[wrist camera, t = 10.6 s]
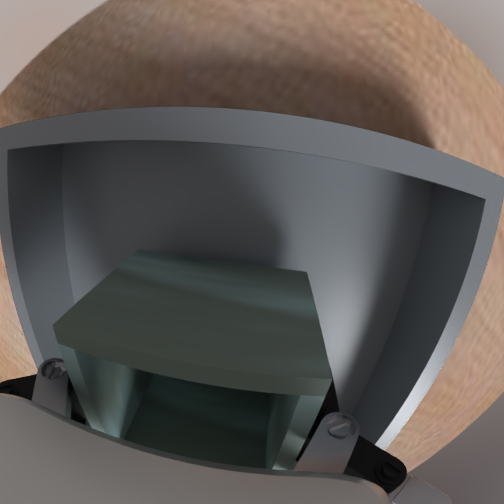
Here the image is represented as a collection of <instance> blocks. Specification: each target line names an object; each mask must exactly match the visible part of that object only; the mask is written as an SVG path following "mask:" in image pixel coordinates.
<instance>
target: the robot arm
mask: <svg viewBox="0 0 504 504" xmlns="http://www.w3.org/2000/svg"><path fill="white" fill-rule="evenodd" d="M330 370H331V368H330ZM331 374H332V371H331ZM359 433H360V426H359V423H358V422H357V420H356V419H355V418H354V417H353V416H351V415H349V414H347V413H343V412H340V410H339V405H338V400H337V395H336V390H335V385H334V380H333V376H332V382H331V384H330V387H329V389H328V391H327V394H326V396H325V399H324V401H323V403H322V405H321V408H320V410H319V412H318V414H317V417H316V419H315V421H314V423H313V425H312V428H311V430H310V432H309V434H308V436H307V438H306V440H305V442H304V444H303V446H302V448H301V450H300V452H299V454H298V456H297V458H296V460H295V461H297V462H298V463H297V465H296V466H295V468H294V470H276V469H264V468H254V467H244V466H236V465H229V464H222V463H216V462H210V461H204V460H199V459H194V458H189V457H185V456H180V455H176V454H172V453H168V452H164V451H160V450H156V449H152V448H149V447H145V446H142V445H139V444H136V443H132V442H129V441H126V440H123V439H120V438H117V437H115V436H112V435H109V434H106V433H104V432H101V431H98V430H96V429H93V428H91V427H90V423H89V421H88V419H87V417H86V415H85V413H84V411H83V409H82V406H81V404H80V402H79V400H78V397H77V395H76V392H75V390H74V388H73V385H72V383H71V380H70V377H69V375H68V372H67V369H66V367H65V364H64V361H63V359H60V358H51V359H48V360H46V361H44V362H43V363H42V364H41V365H40V366H39V368H38V372H37V374H35V375H31V376H26V377H21V378H16V379H11V380H6V381H3V382H1V383H0V504H451V501H450V498H449V497H448V496H446V494H444V493H442V492H441V491H439V490H437V489H436V488H434V487H432V486H431V485H429V484H427V483H426V482H424V481H423V480H421V479H420V478H418V477H416V476H415V475H413V476H412V477H411V476H410V475H408V474H407V470H406V467H405V465H404V464H403V462H401V461H400V460H399V459H397V458H396V457H394V456H392V455H391V454H389V453H387V452H386V451H384V450H382V449H381V448H379V447H378V446H376V445H374V444H373V443H371V442H370V441H368V440H366V439H365V438H363V437H362V436H360V435H359Z"/></svg>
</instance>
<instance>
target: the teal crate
mask: <svg viewBox="0 0 504 504" xmlns="http://www.w3.org/2000/svg"><path fill="white" fill-rule="evenodd" d="M52 326H53V329H54V333H55V336H56V339H57V343H58V346H59V349H60V352H61V355H62V358H63V361H64V364H65V367H66V369H67V372H68V375H69V377H70V380H71V383H72V385H73V388H74V390H75V392H76V395H77V397H78V400H79V402H80V404H81V406H82V409H83V411H84V413H85V415H86V417H87V419H88V421H89V423H90V425H91V427H92V428H93V429H96V430H98V431H101V432H104V433H106V434H109V435H112V436H115V437H117V438H120V439H123V440H126V441H129V442H132V443H136V444H139V445H142V446H145V447H149V448H152V449H156V450H160V451H164V452H168V453H172V454H176V455H180V456H185V457H189V458H194V459H199V460H204V461H210V462H216V463H222V464H229V465H236V466H244V467H254V468H264V469H276V470H290V469H291V467H292V465H293V463H294V462H295V460H296V458H297V456H298V454H299V452H300V450H301V448H302V446H303V444H304V442H305V440H306V438H307V436H308V434H309V432H310V430H311V428H312V425H313V423H314V421H315V419H316V417H317V414H318V412H319V410H320V408H321V405H322V403H323V401H324V399H325V396H326V394H327V391H328V389H329V387H330V384H331V382H332V374H331V370H330V365H329V360H328V356H327V351H326V347H325V343H324V338H323V334H322V330H321V326H320V321H319V317H318V313H317V309H316V305H315V301H314V297H313V293H312V289H311V285H310V281H309V278H308V274H307V272H305V271H297V270H290V269H282V268H274V267H266V266H258V265H251V264H243V263H235V262H228V261H220V260H213V259H206V258H198V257H191V256H184V255H177V254H169V253H162V252H155V251H148V250H141V249H139V250H138V251H136V252H135V253H134V254H133V255H132V256H130V257H129V258H128V259H127V260H125V261H124V262H123V263H122V264H121V265H119V266H118V267H117V268H116V269H115V270H113V271H112V272H111V273H110V274H109V275H108V276H106V277H105V278H104V279H103V280H102V281H101V282H99V283H98V284H97V285H96V286H95V287H94V288H93V289H91V290H90V291H89V292H88V293H87V294H86V295H85V296H84V297H82V298H81V299H80V300H79V301H78V302H77V303H76V304H75V305H74V306H72V307H71V308H70V309H69V310H68V311H67V312H66V313H65V314H64V315H63V316H62V317H61V318H60V319H58V320H57V321H56V322H55V323H54V324H53V325H52Z"/></svg>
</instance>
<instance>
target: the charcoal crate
mask: <svg viewBox="0 0 504 504" xmlns="http://www.w3.org/2000/svg"><path fill="white" fill-rule="evenodd" d="M503 198H504V178H503V177H501V176H499V175H497V174H495V173H493V172H491V171H488V170H486V169H484V168H481V167H479V166H477V165H474V164H472V163H470V162H467V161H465V160H462V159H459V158H457V157H454V156H452V155H449V154H446V153H443V152H441V151H438V150H435V149H432V148H429V147H426V146H423V145H420V144H417V143H414V142H410V141H407V140H404V139H400V138H397V137H393V136H390V135H386V134H382V133H378V132H374V131H370V130H366V129H362V128H358V127H353V126H349V125H344V124H339V123H334V122H329V121H324V120H318V119H313V118H307V117H300V116H294V115H287V114H279V113H271V112H262V111H253V110H241V109H228V108H210V107H140V108H122V109H109V110H99V111H89V112H81V113H74V114H67V115H60V116H54V117H48V118H43V119H38V120H33V121H28V122H23V123H19V124H15V125H11V126H7V127H3V128H0V236H1V243H2V249H3V255H4V260H5V265H6V270H7V275H8V279H9V284H10V288H11V292H12V296H13V300H14V303H15V307H16V310H17V314H18V317H19V320H20V323H21V326H22V329H23V332H24V335H25V338H26V341H27V344H28V346H29V349H30V352H31V354H32V357H33V359H34V362H35V364H36V367H37V369H38V368H39V366H40V365H41V364H42V363H43V362H44V361H46V360H48V359H51V358H60V359H63V358H62V355H61V352H60V349H59V346H58V343H57V339H56V336H55V333H54V329H53V326H52V325H53V324H54V323H55V322H56V321H57V320H58V319H60V318H61V317H62V316H63V315H64V314H65V313H66V312H67V311H68V310H69V309H70V308H71V307H72V306H74V305H75V304H76V303H77V302H78V301H79V300H80V299H81V298H82V297H84V296H85V295H86V294H87V293H88V292H89V291H90V290H91V289H93V288H94V287H95V286H96V285H97V284H98V283H99V282H101V281H102V280H103V279H104V278H105V277H106V276H108V275H109V274H110V273H111V272H112V271H113V270H115V269H116V268H117V267H118V266H119V265H121V264H122V263H123V262H124V261H125V260H127V259H128V258H129V257H130V256H132V255H133V254H134V253H135V252H136V251H138V250H139V249H141V250H148V251H155V252H162V253H169V254H177V255H184V256H191V257H198V258H206V259H213V260H220V261H228V262H235V263H243V264H251V265H258V266H266V267H274V268H282V269H290V270H297V271H305V272H307V274H308V278H309V281H310V285H311V289H312V293H313V297H314V301H315V305H316V309H317V313H318V317H319V321H320V326H321V330H322V334H323V338H324V343H325V347H326V351H327V356H328V360H329V365H330V368H331V371H332V376H333V380H334V385H335V390H336V395H337V400H338V405H339V410H340V412H343V413H347V414H349V415H351V416H353V417H354V418H355V419H356V420H357V422H358V423H359V426H360V433H359V435H360V436H362V437H363V438H365V439H366V440H368V441H370V442H371V443H373V444H374V445H376V446H378V447H379V448H381V449H382V450H385V449H386V448H387V447H388V445H389V444H390V443H391V442H392V440H393V439H394V438H395V437H396V435H397V434H398V433H399V431H400V430H401V429H402V427H403V426H404V425H405V423H406V422H407V421H408V419H409V418H410V416H411V415H412V414H413V412H414V411H415V409H416V408H417V406H418V405H419V403H420V402H421V400H422V399H423V397H424V396H425V394H426V393H427V391H428V389H429V388H430V386H431V385H432V383H433V381H434V380H435V378H436V376H437V375H438V373H439V371H440V369H441V368H442V366H443V364H444V362H445V360H446V359H447V357H448V355H449V353H450V351H451V349H452V347H453V345H454V343H455V341H456V339H457V337H458V335H459V333H460V331H461V329H462V327H463V324H464V322H465V320H466V318H467V315H468V313H469V311H470V308H471V306H472V304H473V301H474V299H475V296H476V293H477V291H478V288H479V285H480V283H481V280H482V277H483V274H484V271H485V268H486V265H487V262H488V259H489V256H490V252H491V249H492V245H493V242H494V238H495V234H496V230H497V226H498V222H499V218H500V213H501V208H502V203H503ZM90 427H91V425H90ZM91 428H92V427H91ZM297 463H298V462H297V461H295V462H294V463H293V465H292V467H291V469H290V470H294V468H295V466H296V465H297Z"/></svg>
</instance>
